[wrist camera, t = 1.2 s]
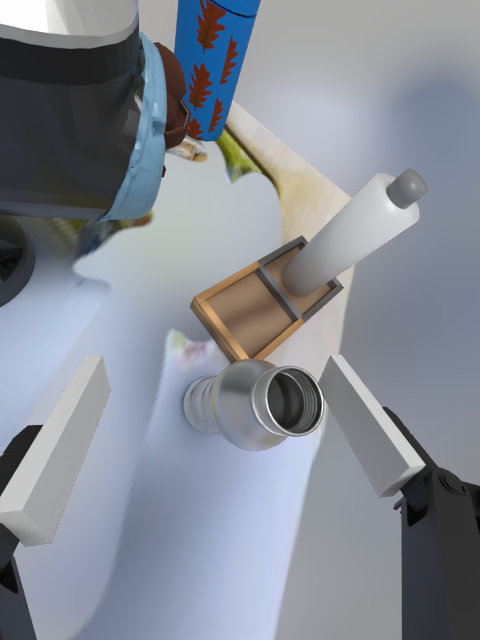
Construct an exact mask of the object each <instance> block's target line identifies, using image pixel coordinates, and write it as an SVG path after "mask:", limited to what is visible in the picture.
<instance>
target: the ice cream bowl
mask: <svg viewBox="0 0 480 640" xmlns="http://www.w3.org/2000/svg"><path fill="white" fill-rule="evenodd" d="M153 44H154V45H155V46H156V47H157V49H158V51H159V53H160V56H161V59H162V63H163V67H164V74H165V82H166V94H167V117H166V126H165V131H164V134H163V135H164V140H165V150H167V149H170V148H172V147H175V146H177V145H179V144H180V143H181V142H182V141H183V139H184V138H185V135H186V132H187V130H188V126H189V122H190V118H191V114H192V113H191V112H190V110H189V109H188V107H187V105H186V104H185V102H184V100H183V99H182V97H184V96H185V94H186V92H187V89H186V82H185V77H184V72H183V70H182V67H181V64H180V62H179V61H178V59H177V58H176V56H175V55H174V54H173V53H172V52H171V51H170V50H169V49H168V48H166V47H165V46H163V45H161V44H160V43H158V42H156V43H153ZM165 171H166V168H165V166H164V165H163V171H162V177H164V175H165ZM162 177H161V178H162Z"/></svg>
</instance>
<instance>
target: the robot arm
mask: <svg viewBox="0 0 480 640" xmlns="http://www.w3.org/2000/svg"><path fill="white" fill-rule="evenodd" d="M138 15H139V14H138V0H0V306H2V305H4V304H5V303H7V302H8V301H9V300H11V299H12V298H13V297H14V296H16V295H17V294H18V293H19V292H20V291H21V290H22V288H23V287H24V286H25V285H26V283H27V282H28V280H29V278H30V276H31V274H32V271H33V268H34V261H35V257H34V250H33V246H32V244H31V242H30V240H29V238H28V236H27V235H26V233H25V232H24V231H23V229H22V228H21V226H20V225H19V223H18V222H17V221H16V220H15V219H14V218H13V217H12V216H11V215H13V216H29V217H45V218H61V219H77V220H93V221H98V222H104V221H107V220H133V219H139V218H142V217H143V216H145V215H146V214H147V213H148V212H149V211H150V210H151V208H152V207H153V205H154V203H155V200H156V198H157V195H158V191H159V187H160V182H161V177H162V171H163V165H164V156H165V140H164V135H163V134H164V131H165V126H166V117H167V94H166V82H165V74H164V67H163V63H162V59H161V56H160V53H159V51H158V49H157V47H156V46H155V45H154V44H153V43H152V42H151V41H150V40H148V38H146V36H145V35H144V34H143V33H142V32H139V16H138ZM318 385H319V386H320V389H321V391H322V394H323V397H324V399H325V400H326V402H327V404H328V406H329V408H330V409H331V411H332V413H333V415H334V417H335V419H336V420H337V422H338V424H339V426H340V428H341V430H342V431H343V433H344V435H345V437H346V438H347V440H348V442H349V444H350V446H351V448H352V450H353V451H354V453H355V455H356V457H357V459H358V460H359V462H360V464H361V466H362V468H363V470H364V471H365V473H366V475H367V477H368V479H369V481H370V482H371V484H372V486H373V488H374V490H375V492H376V493H377V495H378V497H379V498H381V497H388V496H394V495H395V494H396V493H397V492H398V491H399V490H401V492H402V494H403V495H404V496H403V498H401V499H400V500H399V501H398V502H397V503H396V504H395V505H394V508H393V509H395V510H397V509H398V508H399V507H400V506H401V511H400V513H401V516H402V640H480V486H478V485H474V484H470V483H467V482H463V481H461V480H460V479H459V478H458V477H457V476H456V475H454V474H453V473H451V472H450V471H448V470H445V469H443V468H439V467H438V466H437V465H436V464H435V463H434V461H433V460H432V459H431V458H430V456H429V455H428V454H427V453H426V451H425V450H424V449H423V448H422V447H421V445H420V444H419V443H418V442H417V440H416V439H415V438H414V437H413V435H412V434H410V432H409V430H408V429H407V428H406V427H405V426H404V424H403V423H402V422H401V420H400V419H399V418H398V417H397V415H395V414H394V413H393V412H392V411H391V410H390V409H388V408H387V407H381V406H380V405H379V403H378V402H377V401H376V399H375V398H374V397H373V396H372V394H371V393H370V392H369V390H368V389H367V388H366V386H365V385H364V384H363V382H362V381H361V380H360V379H359V377H358V376H357V375H356V373H355V372H354V371H353V369H352V368H351V367H350V365H349V364H348V363H347V362H346V360H345V359H344V358H343V357H342V355H330V357H329V360H328V362H327V364H326V366H325V369H324V371H323V373H322V376H321V378H320V380H319V383H318ZM110 392H111V390H110V387H109V382H108V378H107V374H106V369H105V365H104V361H103V357H102V355H86V356H85V357H84V359H83V361H82V362H81V364H80V366H79V367H78V369H77V371H76V372H75V374H74V376H73V377H72V379H71V381H70V382H69V384H68V385H67V387H66V389H65V390H64V392H63V394H62V395H61V397H60V399H59V400H58V402H57V404H56V405H55V407H54V409H53V410H52V412H51V414H50V415H49V417H48V419H47V420H46V422H45V424H44V425H30V426H27V427H26V428H24V429H23V430H22V431H21V432H20V433H19V434H18V435H16V436H15V437H14V438H13V439H12V441H11V442H10V444H9V445H8V447H7V448H6V450H5V451H4V454H3V455H2V456H1V457H0V640H37V639H36V635H35V631H34V628H33V624H32V620H31V617H30V613H29V609H28V606H27V602H26V598H25V595H24V591H23V587H22V583H21V580H20V576H19V572H18V569H17V565H16V561H15V558H14V556H13V553H14V551H15V549H16V547H17V545H18V543H19V541H20V542H21V543H22V544H23V545H24V546H34V545H41V544H48V543H51V541H52V539H53V537H54V534H55V532H56V529H57V527H58V524H59V521H60V519H61V516H62V514H63V511H64V509H65V506H66V504H67V501H68V498H69V496H70V493H71V491H72V488H73V486H74V483H75V481H76V478H77V476H78V473H79V470H80V468H81V466H82V463H83V460H84V458H85V455H86V453H87V450H88V447H89V445H90V443H91V440H92V438H93V435H94V432H95V430H96V427H97V425H98V422H99V419H100V417H101V415H102V412H103V409H104V407H105V404H106V402H107V399H108V397H109V394H110Z"/></svg>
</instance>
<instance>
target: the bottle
mask: <svg viewBox="0 0 480 640" xmlns="http://www.w3.org/2000/svg"><path fill="white" fill-rule="evenodd" d="M427 192H428V187H427V185H426V183H425V181H424V180H423V178H422V177H421V176H420V175H419V174H418V173H417V172H415V171H414V170H411V169H406V170H405V171H404V172H403V173H402V174H401V175H400V176H398V177H397V178H396V179H395V178H394V177H392V176H390V175H388V174H385V173H378V174H376V175H375V176H374V177H373V179H371V180H370V181H369V182H368V183H367V184H366V185H365V186H364V187H363V188H362V189H361V190H360V191H359V192H358V193H357V194H356V195H355V196H354V197H353V198H352V199H351V200H350V201H349V202H348V203H347V204H346V205H345V206H344V207H343V208H342V209H341V210H340V211H339V212H338V213H337V214H336V215H335V216H334V217H333V218H332V219H331V220H330V221H329V222H328V223H327V224H326V225H325V226H324V227H323V228H322V229H321V230H320V231H319V232H318V234H317V235H316V236H315V237H314V238H313V239H312V240H311V241H310V242H309V243H308V244H307V245H306V246H305V247H304V248H303V249H302V250H301V251H300V252H299V253H298V254H297V255H296V256H295V257H294V258H293V259H292V260H291V261H290V262H289V263H288V264H287V265H286V266H285V267H284V268H283V269H282V271H281V280H282V283H283V285H284V287H285V288H286V290H287V291H288V292H289V293H291V294H292V295H294V296H296V297H301V298H302V297H307V296H308V295H310V294H311V293H313V292H314V291H316V290H317V289H319V288H320V287H322V286H323V285H324V284H326V283H327V282H329V281H330V280H332V279H333V278H335V277H336V276H338V275H339V274H341V273H342V272H344V271H345V270H346V269H348V268H349V267H351V266H352V265H354V264H355V263H357V262H358V261H359V260H361V259H363V258H364V257H365V256H367V255H368V254H370V253H371V252H373V251H374V250H376V249H377V248H379V247H380V246H382V245H383V244H384V243H386V242H387V241H389V240H390V239H392V238H393V237H395V236H396V235H397V234H399V233H401V232H402V231H403V230H405V229H406V228H408V227H409V226H411V225H412V224H414V223H415V222H417V221H418V219H419V209H418V205H417V203H416V201H417V200H418V199H420V198H421V197H422V196H424V195H425V194H426V193H427Z"/></svg>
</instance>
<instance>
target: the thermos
mask: <svg viewBox="0 0 480 640" xmlns="http://www.w3.org/2000/svg"><path fill="white" fill-rule="evenodd" d="M260 1H261V0H179V1H178V14H177V26H176V37H175V49H174V55H175V56H176V58H177V59H178V61H179V62H180V64H181V67H182V70H183V72H184V77H185V82H186V89H187V92H186V94H185V96H184V97H182V99H183V100H184V102H185V104H186V105H187V107H188V109H189V110H190V112H191V113H192V114H191V118H190V122H189V126H188V130H187V132H186V134H187V135H188V136H190V137H193V138H195V139H197V140H201V141H215V140H217V139H219V137H220V136H221V134H222V131H223V128H224V125H225V122H226V119H227V116H228V113H229V110H230V106H231V103H232V99H233V95H234V92H235V88H236V85H237V81H238V78H239V74H240V71H241V67H242V64H243V60H244V57H245V54H246V50H247V47H248V43H249V40H250V36H251V33H252V29H253V26H254V22H255V19H256V15H257V11H258V8H259V4H260Z"/></svg>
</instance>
